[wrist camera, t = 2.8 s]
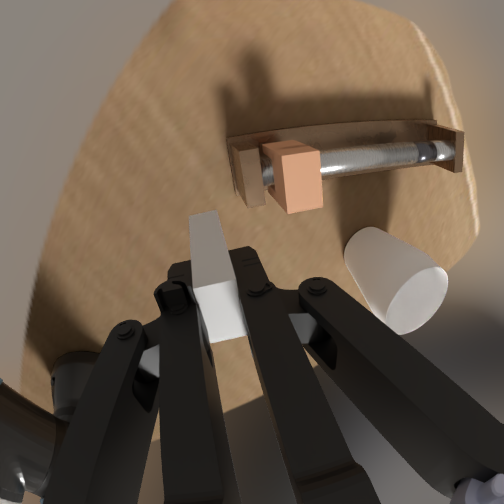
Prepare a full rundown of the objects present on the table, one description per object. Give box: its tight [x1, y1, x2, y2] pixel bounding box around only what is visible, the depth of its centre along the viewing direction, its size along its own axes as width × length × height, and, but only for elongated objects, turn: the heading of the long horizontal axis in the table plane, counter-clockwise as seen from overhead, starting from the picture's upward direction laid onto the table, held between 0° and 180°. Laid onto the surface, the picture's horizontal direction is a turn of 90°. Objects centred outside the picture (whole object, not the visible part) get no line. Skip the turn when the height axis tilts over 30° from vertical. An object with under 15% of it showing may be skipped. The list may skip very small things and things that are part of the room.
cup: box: [344, 227, 448, 335], centre depth 33 cm, size 9×9×12 cm
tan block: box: [262, 140, 323, 214], centre depth 25 cm, size 3×5×6 cm, turn 8°
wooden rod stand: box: [226, 120, 464, 208], centre depth 29 cm, size 27×6×6 cm, turn 98°
